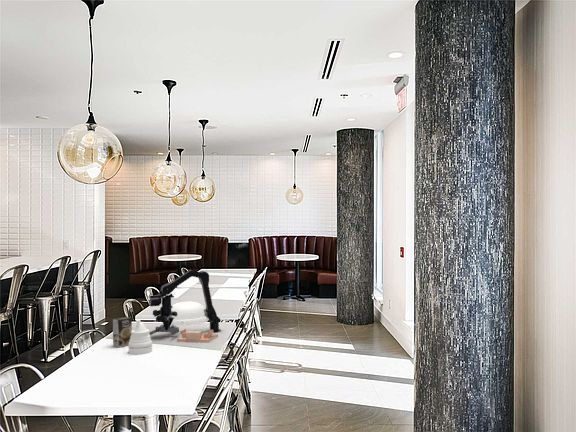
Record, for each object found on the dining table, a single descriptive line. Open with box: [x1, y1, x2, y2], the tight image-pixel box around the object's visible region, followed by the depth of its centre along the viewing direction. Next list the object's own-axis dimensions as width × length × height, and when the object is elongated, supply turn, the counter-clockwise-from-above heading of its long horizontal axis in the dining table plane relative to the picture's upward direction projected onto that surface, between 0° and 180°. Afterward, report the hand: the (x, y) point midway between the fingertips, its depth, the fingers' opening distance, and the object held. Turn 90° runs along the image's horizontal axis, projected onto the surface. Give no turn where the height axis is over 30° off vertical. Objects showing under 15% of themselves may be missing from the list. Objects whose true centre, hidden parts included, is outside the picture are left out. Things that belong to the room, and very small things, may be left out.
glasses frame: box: [148, 324, 180, 336], centre depth 346 cm, size 10×15×4 cm
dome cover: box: [171, 300, 209, 327], centre depth 399 cm, size 32×30×14 cm
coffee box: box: [112, 316, 133, 349], centre depth 328 cm, size 9×6×16 cm
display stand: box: [176, 328, 219, 343], centre depth 341 cm, size 16×20×6 cm
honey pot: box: [128, 319, 153, 356], centre depth 312 cm, size 13×13×18 cm
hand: (167, 329), depth 350 cm, fingers closed on glasses frame, 2 cm apart
